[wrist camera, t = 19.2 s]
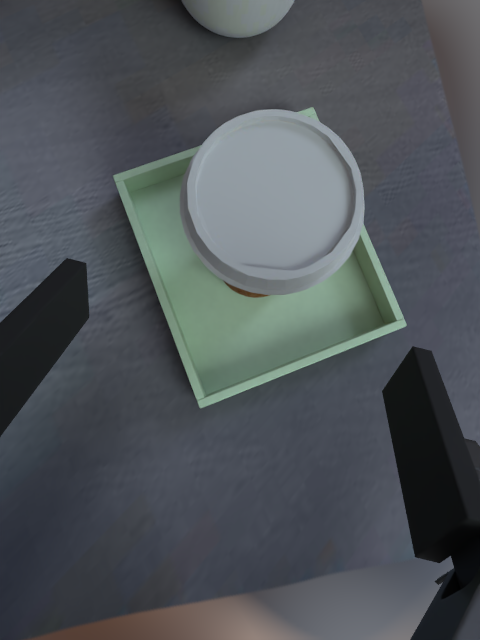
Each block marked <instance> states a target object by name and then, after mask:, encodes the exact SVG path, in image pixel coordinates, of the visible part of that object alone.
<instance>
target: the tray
mask: <svg viewBox="0 0 480 640" xmlns="http://www.w3.org/2000/svg"><path fill="white" fill-rule="evenodd" d="M297 113H299V114H302V115H305V116H307V117H310V118H313V119H315V120H317V121H319V120H318V117H317V115H316V113H315V110H314V108H313V107H312V108H309V109H306V110H303V111H300V112H297ZM201 146H202V145H201ZM201 146H198V147H195V148H192V149H189V150H186V151H183V152H180V153H177V154H174V155H172V156H169V157H166V158H163V159H160V160H157V161H154V162H151V163H148V164H145V165H142V166H140V167H137V168H134V169H131V170H128V171H125V172H122V173H119V174H116V175H113V178H114V181H115V183H116V186H117V189H118V192H119V194H120V197H121V200H122V202H123V205H124V208H125V210H126V213H127V216H128V218H129V221H130V224H131V226H132V229H133V232H134V234H135V237H136V240H137V242H138V245H139V248H140V250H141V253H142V256H143V258H144V261H145V264H146V266H147V269H148V272H149V274H150V277H151V280H152V282H153V285H154V288H155V290H156V293H157V296H158V298H159V301H160V304H161V306H162V309H163V312H164V314H165V317H166V320H167V322H168V325H169V328H170V330H171V333H172V336H173V338H174V341H175V344H176V346H177V349H178V352H179V354H180V357H181V360H182V362H183V365H184V368H185V370H186V373H187V376H188V379H189V381H190V384H191V387H192V389H193V392H194V395H195V397H196V400H197V402H198V405H199V408H203V407H205V406H208V405H210V404H213V403H215V402H218V401H220V400H223V399H225V398H228V397H230V396H233V395H235V394H238V393H240V392H243V391H245V390H248V389H250V388H253V387H255V386H258V385H260V384H263V383H265V382H268V381H270V380H273V379H275V378H278V377H280V376H283V375H285V374H288V373H290V372H293V371H295V370H298V369H300V368H303V367H305V366H308V365H310V364H313V363H315V362H318V361H320V360H323V359H325V358H328V357H330V356H333V355H335V354H338V353H340V352H343V351H345V350H348V349H350V348H353V347H355V346H358V345H360V344H363V343H365V342H368V341H370V340H373V339H375V338H378V337H380V336H383V335H385V334H388V333H390V332H393V331H395V330H398V329H400V328H403V327H405V326H407V324H406V322H405V320H404V319H403V318H404V317H403V315H402V313H401V310H400V308H399V306H398V303H397V301H396V299H395V296H394V294H393V292H392V289H391V287H390V285H389V282H388V280H387V278H386V275H385V273H384V271H383V268H382V266H381V264H380V261H379V259H378V257H377V255H376V252H375V250H374V248H373V245H372V243H371V241H370V238H369V236H368V234H367V231H366V229H365V227H364V224H363V226H362V229H361V233H360V236H359V239H358V241H357V243H356V245H355V247H354V249H353V251H352V253H351V255H350V256H349V258H348V259H347V260H346V261H345V262H344V263H343V265H342V266H341V267H340V268H339V269H338V270H337V271H336V272H335V273H333V274H332V275H331V276H330V277H328V278H327V279H326V280H324V281H323V282H321V283H319V284H317V285H315V286H313V287H311V288H308V289H306V290H303V291H300V292H296V293H291V294H286V295H270V296H266V297H259V298H252V297H247V296H244V295H241V294H238V293H237V292H235V291H233V290H232V289H230V288H229V287H228V286H227V285H226V284H225V282H224V281H223V280H222V279H220V278H219V277H218V276H216V275H215V274H214V273H213V272H211V271H210V270H209V269H208V268H207V267H206V266H205V265H204V264H203V262H202V261H201V260H200V259H199V257H198V256H197V255H196V254H195V252H194V251H193V250H192V247H191V245H190V243H189V241H188V239H187V237H186V235H185V233H184V229H183V224H182V220H181V216H180V191H181V186H182V181H183V176H184V174H185V172H186V170H187V168H188V166H189V164H190V161H191V159H192V157H193V156H194V155H195V153H196V152H197V151H198V150H199V148H200V147H201Z"/></svg>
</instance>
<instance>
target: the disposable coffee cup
mask: <svg viewBox="0 0 480 640" xmlns="http://www.w3.org/2000/svg"><path fill="white" fill-rule="evenodd" d="M364 208H365V206H364V190H363V184H362V178H361V174H360V171H359V168H358V166H357V163H356V161H355V159H354V157H353V155H352V154H351V152H350V150H349V149H348V147H347V146H346V145H345V144H344V142H343V141H342V140H341V139H340V137H338V136H337V135H336V134H335V133H334V132H333V131H332V130H331V129H329V128H328V127H326V126H325V125H323V124H322V123H320V122H319V121H317V120H315V119H313V118H310V117H307V116H305V115H302V114H299V113H295V112H292V111H289V110H278V109H269V110H257V111H253V112H250V113H247V114H243V115H240V116H237V117H235V118H233V119H232V120H230V121H228V122H226V123H224V124H223V125H222V126H220V127H219V128H218V129H216V130H215V131H214V132H213V133H212V134H211V135H210V136H209V137H208V138H207V139H206V140H205V141H204V143H203V144H202V146H201V147H200V148H199V150H198V151H197V152H196V153H195V155H194V156H193V157H192V159H191V161H190V164H189V166H188V168H187V170H186V172H185V174H184V176H183V181H182V186H181V191H180V216H181V220H182V224H183V229H184V233H185V235H186V237H187V239H188V241H189V243H190V245H191V247H192V250H193V251H194V252H195V254H196V255H197V256H198V257H199V259H200V260H201V261H202V262H203V264H204V265H205V266H206V267H207V268H208V269H209V270H210V271H211V272H213V273H214V274H215V275H216V276H218V277H219V278H220V279H222V280H223V281H224V282H225V284H226V285H227V286H228V287H229V288H230V289H232V290H233V291H235V292H237V293H238V294H241V295H244V296H247V297H252V298H259V297H266V296H270V295H286V294H291V293H296V292H300V291H303V290H306V289H308V288H311V287H313V286H315V285H317V284H319V283H321V282H323V281H324V280H326V279H327V278H328V277H330V276H331V275H332V274H333V273H335V272H336V271H337V270H338V269H339V268H340V267H341V266H342V265H343V263H344V262H345V261H346V260H347V259H348V258H349V256H350V255H351V253H352V251H353V249H354V247H355V245H356V243H357V241H358V239H359V236H360V233H361V229H362V226H363V220H364Z"/></svg>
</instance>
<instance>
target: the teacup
mask: <svg viewBox="0 0 480 640" xmlns="http://www.w3.org/2000/svg"><path fill="white" fill-rule="evenodd" d="M294 1H295V0H182V2H183V4H184V6H185V7H186V9H187V10H188V12H189V13H190V14H191V15H192V17H193V18H194V19H195V20H196V21H197V22H199V23H200V24H201V25H202V26H204V27H205V28H207V29H208V30H210V31H212V32H214V33H216V34H219V35H222V36H226V37H233V38H245V37H251V36H255V35H258V34H261V33H263V32H265V31H267V30H269V29H270V28H272V27H273V26H274V25H276V24H277V23H278V22H279V21H280V20H281V19H282V18H283V17H284V16H285V15H286V14H287V12H288V11H289V9H290V8H291V6H292V4H293V3H294Z"/></svg>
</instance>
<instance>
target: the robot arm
mask: <svg viewBox="0 0 480 640" xmlns="http://www.w3.org/2000/svg"><path fill="white" fill-rule="evenodd" d="M88 318H89V303H88V286H87V269H86V263H84V262H80V261H76V260H72V259H68V258H67V259H66V260H64V261H63V262H62V263H61V264H60V265H59V266H58V267H57V268H56V269H55V270H54V271H53V272H52V273H51V274H50V275H49V276H48V277H47V278H46V279H45V280H44V281H43V282H42V283H41V284H40V285H39V286H38V287H37V288H36V289H35V290H34V291H33V292H32V293H31V294H29V295H28V296H27V297H26V298H25V299H24V300H23V301H22V302H21V303H20V304H19V305H18V306H17V307H16V308H15V309H14V310H13V311H12V312H11V313H10V314H9V315H8V316H7V317H6V318H5V319H4V320H3V321H2V322H1V323H0V436H1V435H2V434H3V432H4V431H5V430H6V428H7V427H8V426H9V424H10V423H11V422H12V420H13V419H14V418H15V416H16V415H17V414H18V412H19V411H20V410H21V408H22V407H23V405H24V404H25V403H26V401H27V400H28V399H29V397H30V396H31V395H32V393H33V392H34V391H35V389H36V388H37V387H38V385H39V384H40V383H41V381H42V380H43V379H44V377H45V376H46V375H47V373H48V372H49V371H50V369H51V368H52V367H53V365H54V364H55V363H56V361H57V360H58V359H59V357H60V356H61V355H62V353H63V352H64V351H65V349H66V348H67V347H68V345H69V344H70V343H71V341H72V340H73V338H74V337H75V336H76V334H77V333H78V332H79V330H80V329H81V328H82V326H83V325H84V324H85V322H86V321H87V320H88ZM382 393H383V398H384V403H385V408H386V413H387V418H388V423H389V428H390V433H391V438H392V443H393V448H394V453H395V458H396V463H397V468H398V473H399V478H400V483H401V488H402V493H403V498H404V503H405V508H406V514H407V519H408V524H409V529H410V534H411V539H412V544H413V549H414V554H415V557H417V558H421V559H425V560H429V561H433V562H437V563H440V562H442V561H443V560H445V559H446V558H448V557H449V556H451V558H452V562H453V565H454V569H452V570H450V571H449V572H447V573H446V574H444V575H443V576H441V577H440V578H438V579H437V580H436V581H435V582H436V583H437V584H438V585H439V584H440V583H442V582H443V583H442V585H441V587H440V589H439V591H438V592H437V594H436V596H435V597H434V599H433V601H432V603H431V604H430V606H429V608H428V610H427V611H426V613H425V615H424V617H423V619H422V620H421V622H420V624H419V626H418V627H417V629H416V631H415V632H414V634H413V636H412V638H411V640H480V446H479V445H478V444H477V442H476V441H472V440H468V439H464V437H463V434H462V431H461V429H460V426H459V423H458V421H457V418H456V415H455V413H454V410H453V407H452V405H451V402H450V399H449V397H448V394H447V391H446V389H445V386H444V383H443V381H442V378H441V375H440V373H439V370H438V367H437V365H436V362H435V359H434V356H433V354H432V351H429V350H425V349H421V348H417V347H414V346H413V347H412V348H411V350H410V351H409V352H408V354H407V355H406V357H405V358H404V360H403V361H402V363H401V364H400V366H399V367H398V369H397V370H396V372H395V373H394V375H393V376H392V377H391V379H390V380H389V382H388V383H387V385H386V386H385V388H384V389H383V391H382Z"/></svg>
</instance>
